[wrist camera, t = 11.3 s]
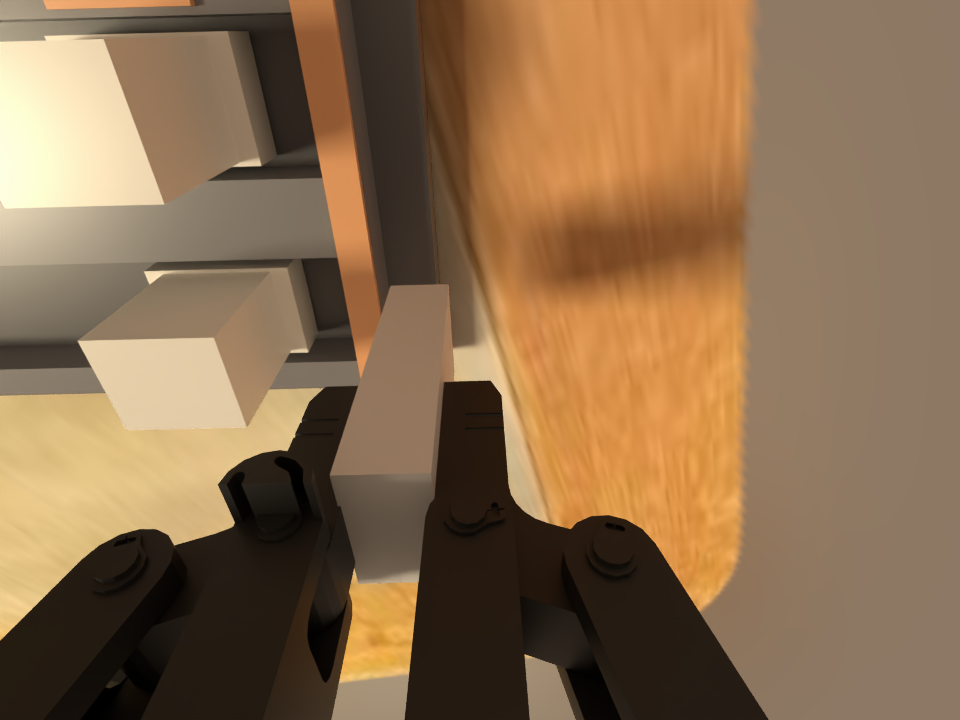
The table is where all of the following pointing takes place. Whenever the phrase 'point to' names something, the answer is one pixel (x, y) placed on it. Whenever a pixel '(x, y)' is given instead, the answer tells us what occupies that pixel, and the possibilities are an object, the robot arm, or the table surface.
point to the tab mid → (127, 117)
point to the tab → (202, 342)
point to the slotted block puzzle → (244, 188)
